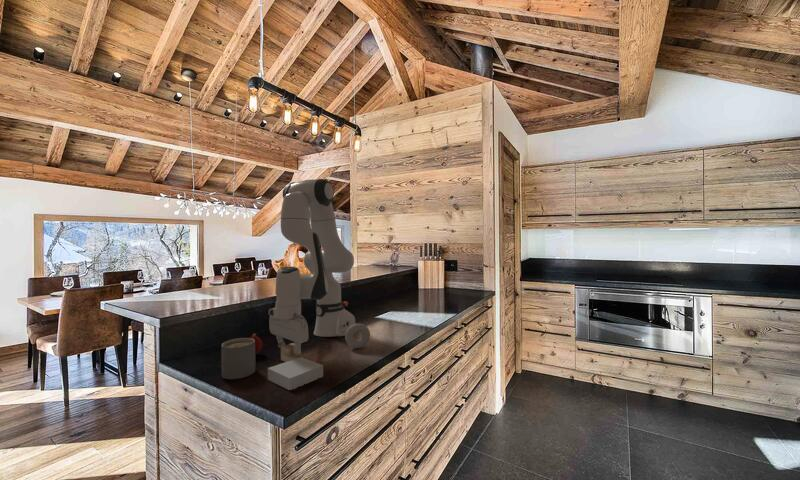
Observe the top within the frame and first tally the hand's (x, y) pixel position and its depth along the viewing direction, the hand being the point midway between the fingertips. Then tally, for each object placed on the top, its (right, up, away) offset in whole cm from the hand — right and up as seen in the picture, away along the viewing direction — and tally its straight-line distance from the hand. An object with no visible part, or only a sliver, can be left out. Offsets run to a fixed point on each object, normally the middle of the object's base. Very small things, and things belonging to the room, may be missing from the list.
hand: (288, 350), depth 118 cm
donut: (+24, -3, +12) cm, 27 cm away
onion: (-15, -4, +5) cm, 16 cm away
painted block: (+8, -4, -15) cm, 17 cm away
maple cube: (+1, -4, 0) cm, 4 cm away
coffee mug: (-13, -4, -9) cm, 16 cm away
